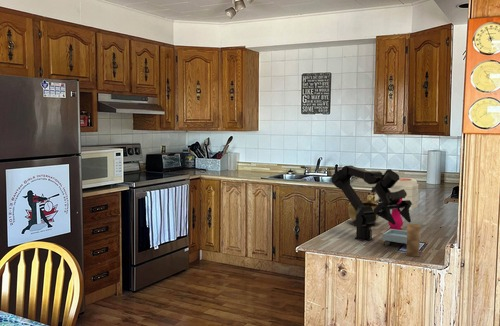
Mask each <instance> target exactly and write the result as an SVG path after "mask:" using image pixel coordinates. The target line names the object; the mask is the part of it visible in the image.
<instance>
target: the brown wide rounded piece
mask: <svg viewBox="0 0 500 326" xmlns="http://www.w3.org/2000/svg"><path fill="white" fill-rule="evenodd" d="M374 195H375V194H374ZM374 195H373V194H368V195H367V197H366V199H365V201H363V200H362V199H361V198H360V200H361V201H362V202H363V204H364V205H365V206H371V207H372V209H373V211H374V208H375V207H376V206H377V205H378V204H379V203H376V202H374V201H375V196H374ZM347 209H348V216H349V218H350V219H351V220H352V221H354V220H355V219H356V210H355V209H354V207H353V206H352V204H351V203H350V202H349V203H348V207H347ZM379 217H380V216H378V215H376V221H378V219H379Z"/></svg>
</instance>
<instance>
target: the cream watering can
mask: <svg viewBox="0 0 500 326" xmlns="http://www.w3.org/2000/svg"><path fill="white" fill-rule="evenodd" d="M419 186H420V184H419V183H418V180H416V178H414V177H413V178H411V177H399V180H398V181H397V182H396V184H395V185H394V186H393V187H392V188H389V190H390V191H391V192H396V191H399V190H403V189H404V190H405V191H406V193H407V196H405V198H402V201H403V200H410V201H411V203H412V205H411V207H410V208H409V211H412V210H414V209H416V208H418V207H419ZM374 196H375V201H374V203H376V202H379V200H380V198H379V197H378V195H377V193H375V194H374Z"/></svg>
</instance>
